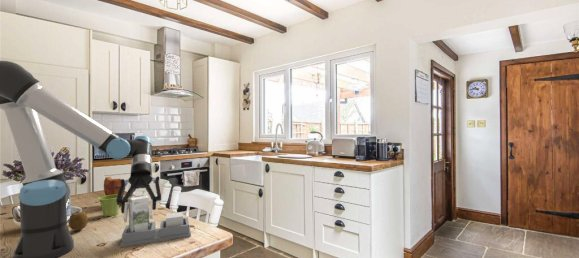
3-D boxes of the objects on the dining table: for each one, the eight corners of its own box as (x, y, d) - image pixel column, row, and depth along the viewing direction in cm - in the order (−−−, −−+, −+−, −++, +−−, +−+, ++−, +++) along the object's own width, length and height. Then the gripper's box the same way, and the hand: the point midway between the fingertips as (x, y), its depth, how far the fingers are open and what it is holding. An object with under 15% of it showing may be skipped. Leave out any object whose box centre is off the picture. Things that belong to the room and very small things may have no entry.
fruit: (90, 227, 120) (89, 208, 120) (84, 232, 114) (84, 212, 114) (72, 229, 119) (72, 209, 118) (66, 234, 113) (65, 214, 112)
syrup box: (145, 231, 110) (144, 193, 110) (150, 235, 106) (148, 196, 106) (129, 235, 107) (127, 196, 106) (133, 240, 102) (131, 199, 102)
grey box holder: (120, 247, 99) (119, 226, 99) (125, 236, 109) (124, 217, 109) (190, 236, 108) (190, 217, 108) (189, 227, 118) (188, 209, 118)
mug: (128, 205, 153) (127, 177, 153) (112, 209, 147) (111, 179, 146) (114, 202, 161) (113, 175, 161) (98, 205, 154) (97, 177, 154)
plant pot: (104, 219, 131) (104, 200, 131) (95, 216, 136) (94, 197, 136) (125, 213, 138) (125, 195, 138) (116, 210, 144) (115, 193, 144)
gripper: (168, 171, 124) (169, 219, 109) (113, 175, 116) (106, 228, 102) (168, 160, 119) (169, 209, 104) (111, 163, 111) (103, 217, 97)
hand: (138, 218), depth 103 cm, fingers open, 8 cm apart
